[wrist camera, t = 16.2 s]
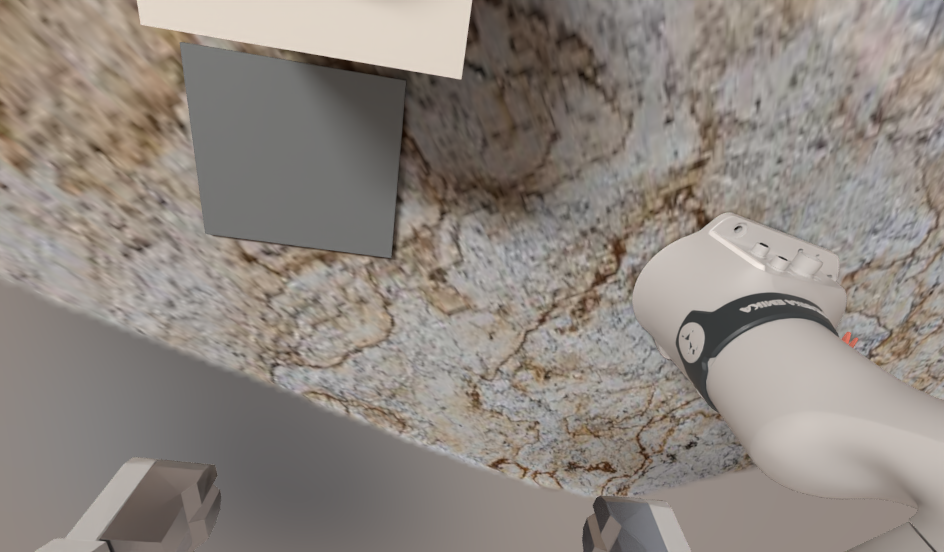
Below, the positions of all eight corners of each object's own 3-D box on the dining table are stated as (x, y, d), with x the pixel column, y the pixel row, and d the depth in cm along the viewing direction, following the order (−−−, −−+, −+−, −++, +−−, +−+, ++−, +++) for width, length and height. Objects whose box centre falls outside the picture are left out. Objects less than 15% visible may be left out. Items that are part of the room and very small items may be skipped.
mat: (406, 80, 40) (405, 80, 39) (391, 255, 48) (391, 258, 47) (183, 42, 38) (179, 42, 37) (208, 231, 46) (205, 233, 45)
